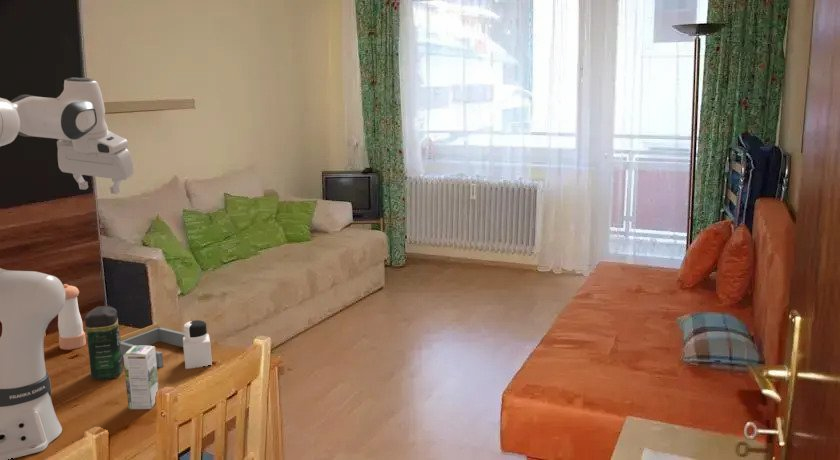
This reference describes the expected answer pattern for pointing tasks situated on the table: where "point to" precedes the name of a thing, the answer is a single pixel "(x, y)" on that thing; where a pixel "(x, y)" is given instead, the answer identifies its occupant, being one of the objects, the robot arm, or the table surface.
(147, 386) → the syrup box
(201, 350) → the medicine bottle
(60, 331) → the salt shaker
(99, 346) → the coffee jar
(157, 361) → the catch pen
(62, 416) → the table surface
